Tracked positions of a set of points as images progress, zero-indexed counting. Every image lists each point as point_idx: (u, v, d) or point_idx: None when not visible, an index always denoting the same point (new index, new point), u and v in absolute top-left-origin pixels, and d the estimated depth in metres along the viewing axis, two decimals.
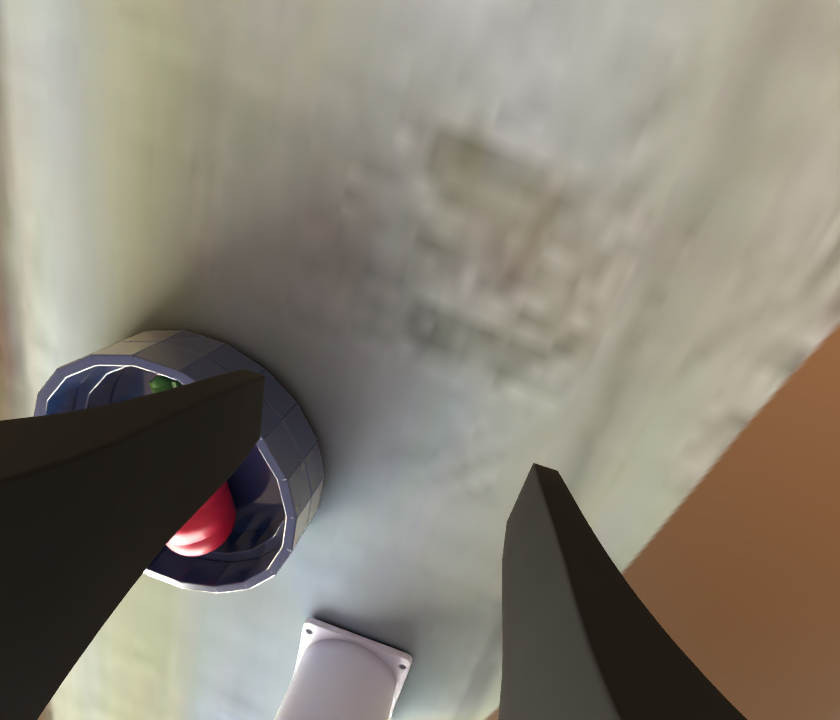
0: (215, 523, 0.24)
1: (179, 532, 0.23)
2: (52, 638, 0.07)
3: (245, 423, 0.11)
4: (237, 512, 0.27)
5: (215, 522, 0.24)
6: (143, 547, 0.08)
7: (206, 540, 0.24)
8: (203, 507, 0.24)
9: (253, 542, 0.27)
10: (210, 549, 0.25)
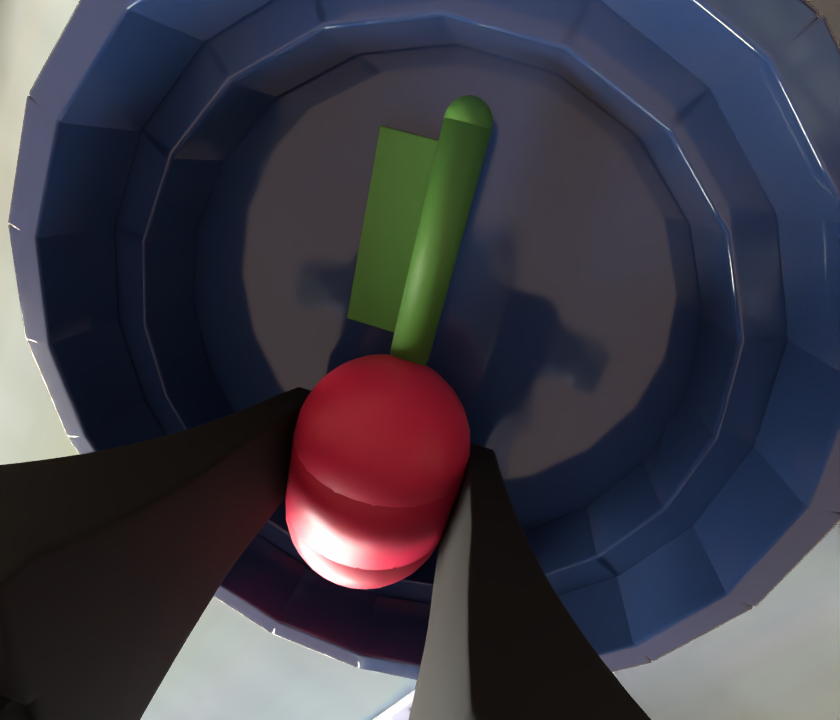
0: (438, 529, 0.10)
1: (373, 539, 0.09)
2: (138, 673, 0.07)
3: None
4: None
5: (441, 528, 0.10)
6: (214, 573, 0.08)
7: (411, 566, 0.09)
8: (444, 490, 0.09)
9: None
10: (395, 581, 0.10)
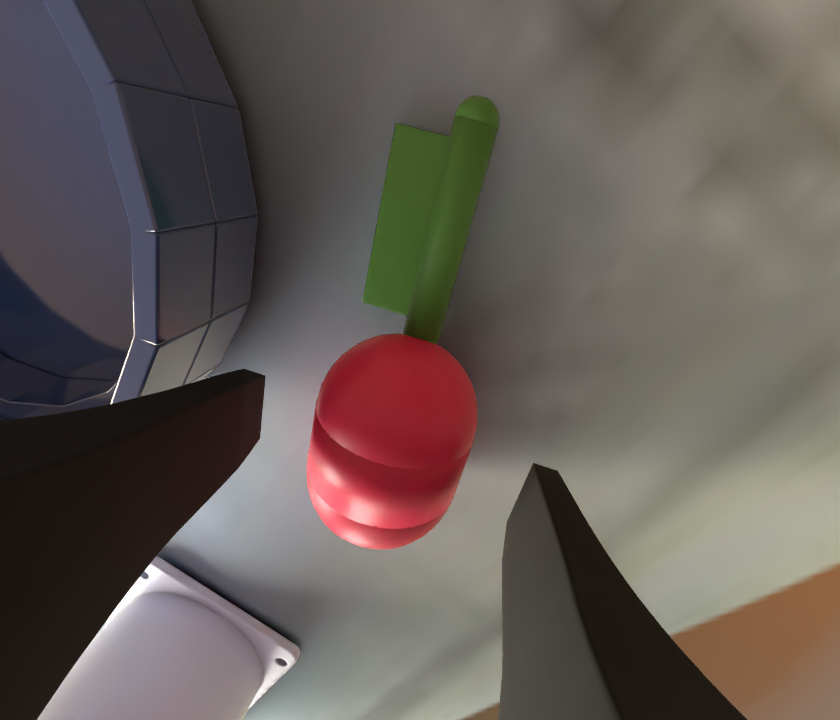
0: (448, 494, 0.11)
1: (390, 499, 0.09)
2: (52, 638, 0.07)
3: (245, 423, 0.11)
4: (57, 335, 0.14)
5: (450, 492, 0.11)
6: (143, 547, 0.08)
7: (423, 527, 0.10)
8: (453, 456, 0.10)
9: (69, 395, 0.13)
10: (408, 543, 0.11)
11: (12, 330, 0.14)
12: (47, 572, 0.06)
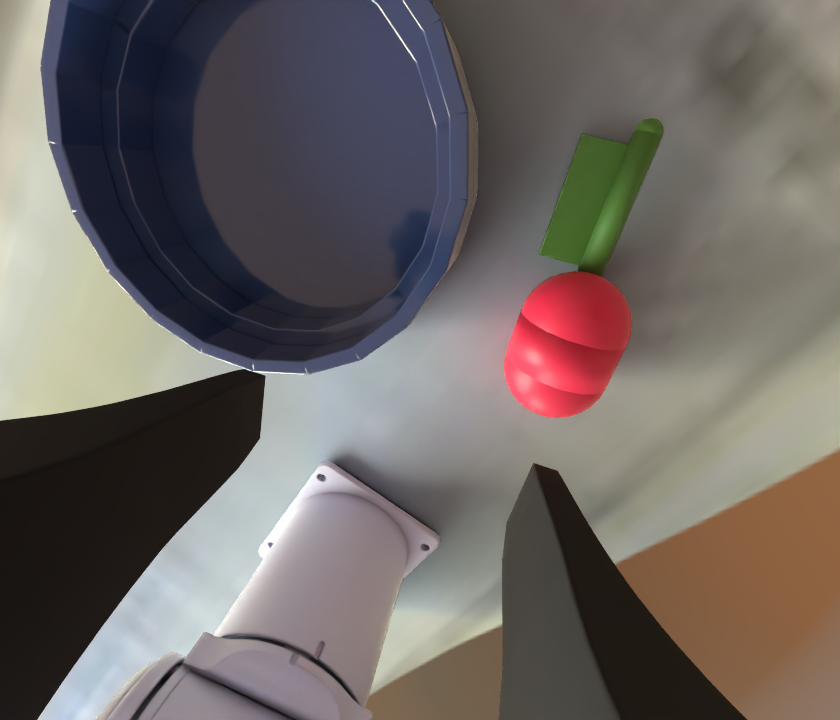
0: (608, 377, 0.16)
1: (585, 371, 0.15)
2: (52, 638, 0.07)
3: (245, 423, 0.11)
4: (298, 284, 0.20)
5: (611, 375, 0.16)
6: (143, 547, 0.08)
7: (595, 397, 0.16)
8: (620, 347, 0.15)
9: (315, 325, 0.19)
10: (579, 412, 0.16)
11: (261, 281, 0.20)
12: (47, 572, 0.06)
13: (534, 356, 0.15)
